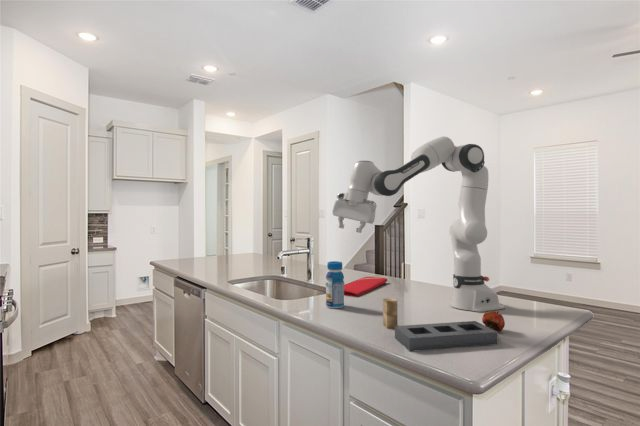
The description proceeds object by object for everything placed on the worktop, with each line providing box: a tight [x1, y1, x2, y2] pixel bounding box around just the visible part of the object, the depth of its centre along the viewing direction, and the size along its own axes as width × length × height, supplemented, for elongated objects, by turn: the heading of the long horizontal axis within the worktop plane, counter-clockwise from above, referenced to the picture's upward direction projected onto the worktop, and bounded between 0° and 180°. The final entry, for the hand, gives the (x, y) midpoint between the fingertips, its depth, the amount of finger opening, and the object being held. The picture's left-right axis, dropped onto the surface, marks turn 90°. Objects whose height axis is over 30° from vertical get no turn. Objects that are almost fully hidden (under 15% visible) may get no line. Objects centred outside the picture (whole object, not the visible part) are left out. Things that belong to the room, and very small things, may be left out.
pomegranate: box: [481, 310, 506, 332], centre depth 130 cm, size 7×7×10 cm
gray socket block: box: [394, 320, 499, 352], centre depth 120 cm, size 30×12×4 cm, turn 100°
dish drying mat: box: [344, 276, 388, 298], centre depth 204 cm, size 16×41×4 cm, turn 147°
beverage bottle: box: [325, 261, 345, 309], centre depth 165 cm, size 8×8×20 cm
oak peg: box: [382, 297, 398, 329], centre depth 136 cm, size 4×4×10 cm
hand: (349, 230), depth 153 cm, fingers open, 8 cm apart
